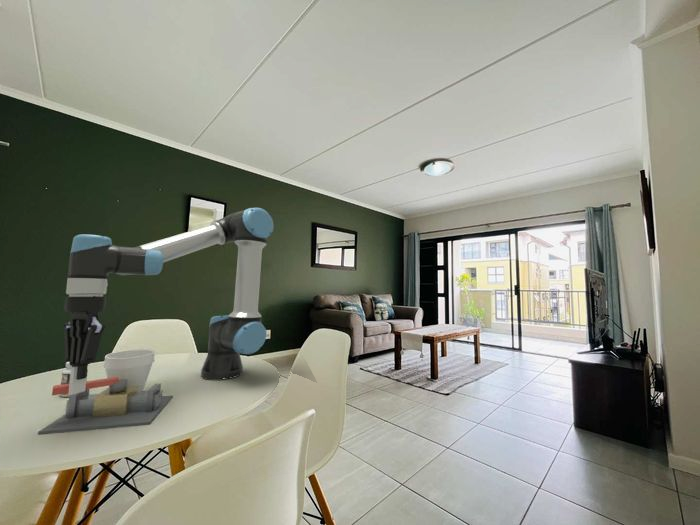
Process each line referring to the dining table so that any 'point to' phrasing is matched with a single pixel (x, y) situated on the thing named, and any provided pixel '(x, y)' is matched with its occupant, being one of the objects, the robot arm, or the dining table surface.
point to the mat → (104, 420)
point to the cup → (130, 366)
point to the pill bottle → (67, 377)
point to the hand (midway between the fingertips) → (76, 392)
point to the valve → (114, 402)
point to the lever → (95, 385)
